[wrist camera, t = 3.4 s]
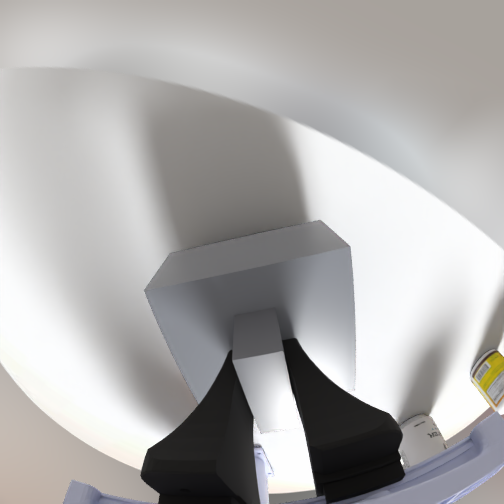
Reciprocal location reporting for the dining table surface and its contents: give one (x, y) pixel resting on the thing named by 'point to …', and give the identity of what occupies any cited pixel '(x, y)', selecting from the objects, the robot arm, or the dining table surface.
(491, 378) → the supplement bottle
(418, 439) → the energy drink can
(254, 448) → the robot arm
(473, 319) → the dining table surface
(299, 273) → the grey stepped block
